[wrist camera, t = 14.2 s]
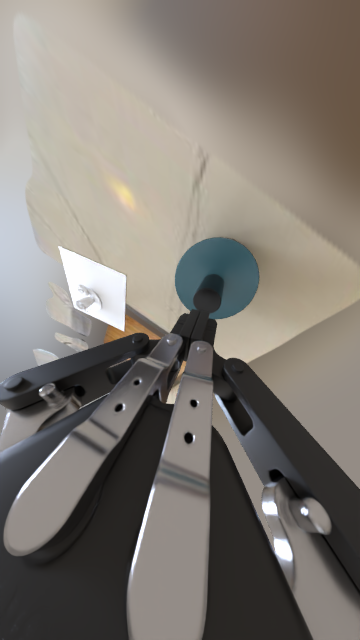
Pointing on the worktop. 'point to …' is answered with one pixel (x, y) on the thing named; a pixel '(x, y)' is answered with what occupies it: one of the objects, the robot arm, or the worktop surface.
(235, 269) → the lid
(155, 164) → the worktop surface
